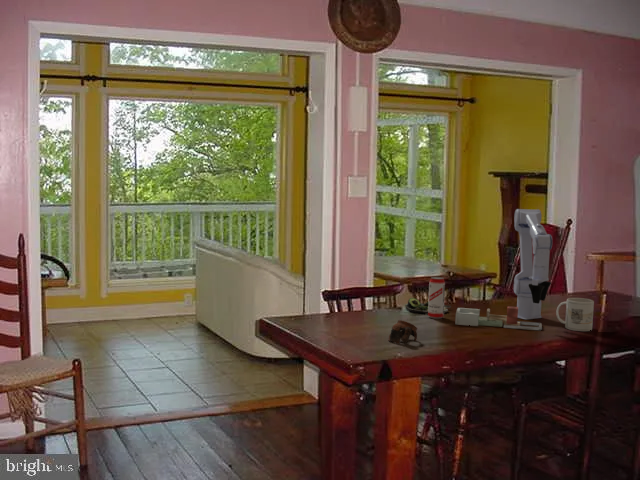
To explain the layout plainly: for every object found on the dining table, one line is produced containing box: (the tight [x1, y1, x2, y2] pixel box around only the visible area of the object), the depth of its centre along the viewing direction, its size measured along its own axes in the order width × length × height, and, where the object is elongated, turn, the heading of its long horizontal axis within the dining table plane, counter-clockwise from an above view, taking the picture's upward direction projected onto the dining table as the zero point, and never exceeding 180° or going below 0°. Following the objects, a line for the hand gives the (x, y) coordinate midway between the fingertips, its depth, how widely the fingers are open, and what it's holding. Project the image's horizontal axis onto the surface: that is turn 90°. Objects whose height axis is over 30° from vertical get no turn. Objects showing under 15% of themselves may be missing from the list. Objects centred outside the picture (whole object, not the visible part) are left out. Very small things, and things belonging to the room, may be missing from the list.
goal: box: [454, 307, 481, 327], centre depth 298 cm, size 8×11×4 cm
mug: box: [555, 297, 595, 332], centre depth 293 cm, size 10×12×11 cm
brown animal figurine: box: [388, 319, 418, 345], centre depth 263 cm, size 12×10×8 cm
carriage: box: [486, 305, 521, 326], centre depth 295 cm, size 12×6×7 cm, turn 76°
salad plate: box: [405, 297, 452, 315], centre depth 322 cm, size 19×18×5 cm
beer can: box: [427, 276, 446, 320], centre depth 306 cm, size 6×6×16 cm
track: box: [478, 316, 543, 331], centre depth 295 cm, size 24×9×2 cm, turn 76°
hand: (538, 301), depth 292 cm, fingers open, 7 cm apart
